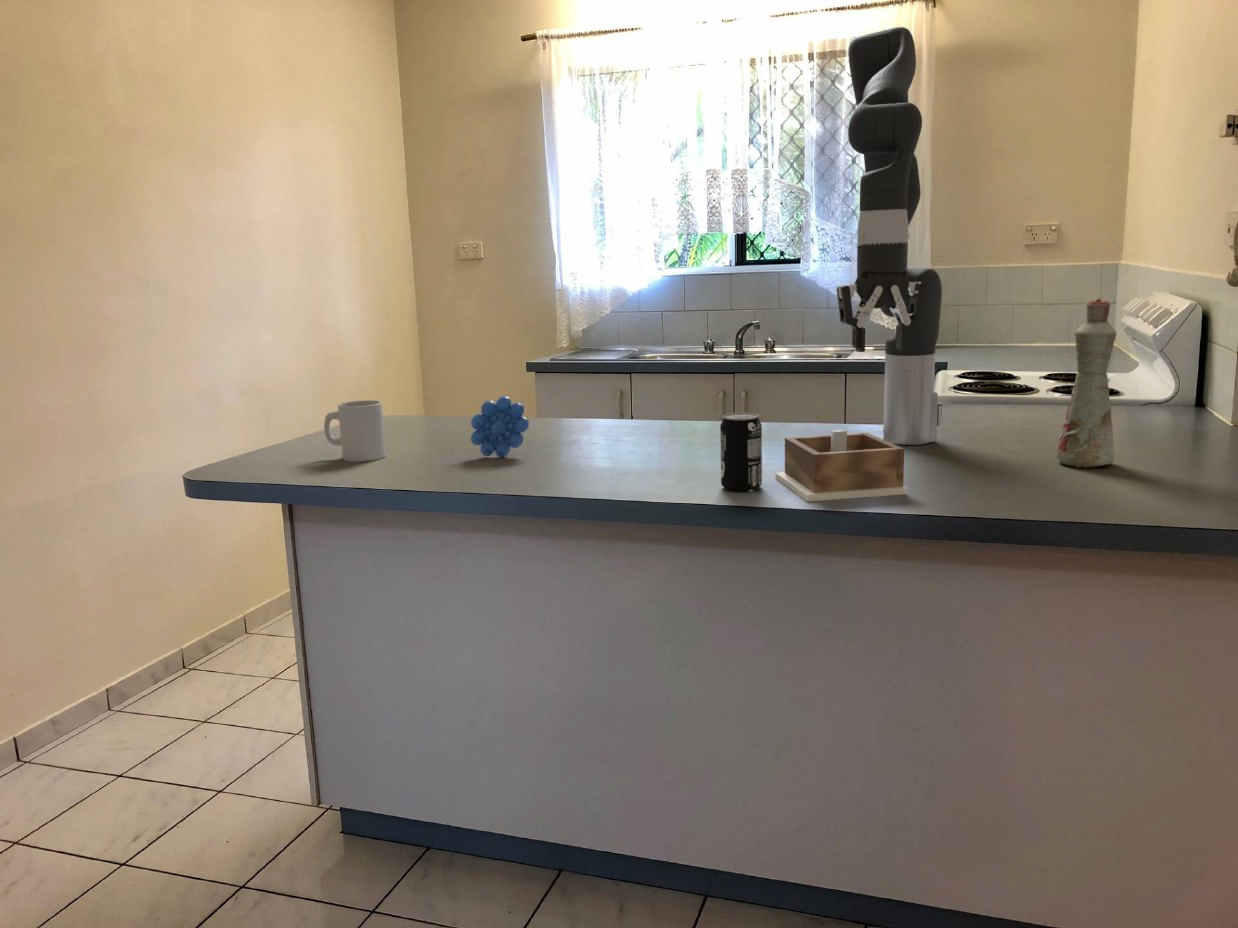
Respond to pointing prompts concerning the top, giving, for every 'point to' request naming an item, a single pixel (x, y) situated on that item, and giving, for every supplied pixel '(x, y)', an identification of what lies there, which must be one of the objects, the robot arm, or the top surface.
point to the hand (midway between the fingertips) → (880, 350)
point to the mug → (359, 430)
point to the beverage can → (741, 452)
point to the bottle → (1090, 394)
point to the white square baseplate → (836, 445)
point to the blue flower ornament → (499, 427)
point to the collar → (844, 463)
